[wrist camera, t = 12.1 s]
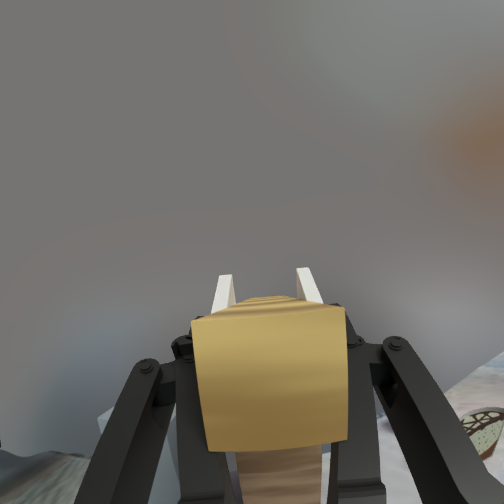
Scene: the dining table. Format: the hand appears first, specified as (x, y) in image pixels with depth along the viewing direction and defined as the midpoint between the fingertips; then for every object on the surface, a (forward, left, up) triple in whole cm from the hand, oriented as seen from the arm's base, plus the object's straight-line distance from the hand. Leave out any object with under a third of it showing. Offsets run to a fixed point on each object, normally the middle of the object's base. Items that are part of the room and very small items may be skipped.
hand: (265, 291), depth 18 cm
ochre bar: (-2, +4, -5) cm, 6 cm away
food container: (+23, +30, -36) cm, 52 cm away
